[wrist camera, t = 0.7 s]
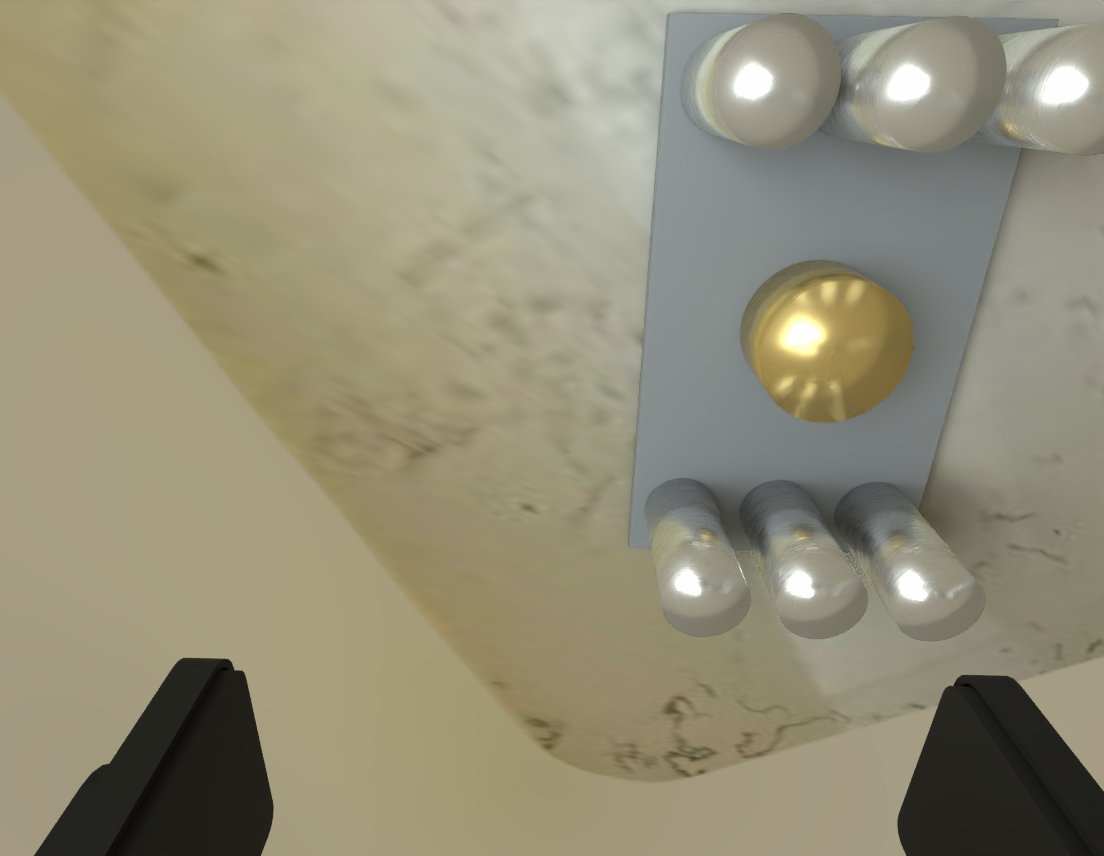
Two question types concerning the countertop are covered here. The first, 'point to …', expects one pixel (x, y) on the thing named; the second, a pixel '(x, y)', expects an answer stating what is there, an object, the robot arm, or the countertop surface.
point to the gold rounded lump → (826, 341)
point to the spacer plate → (778, 242)
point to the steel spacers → (889, 120)
